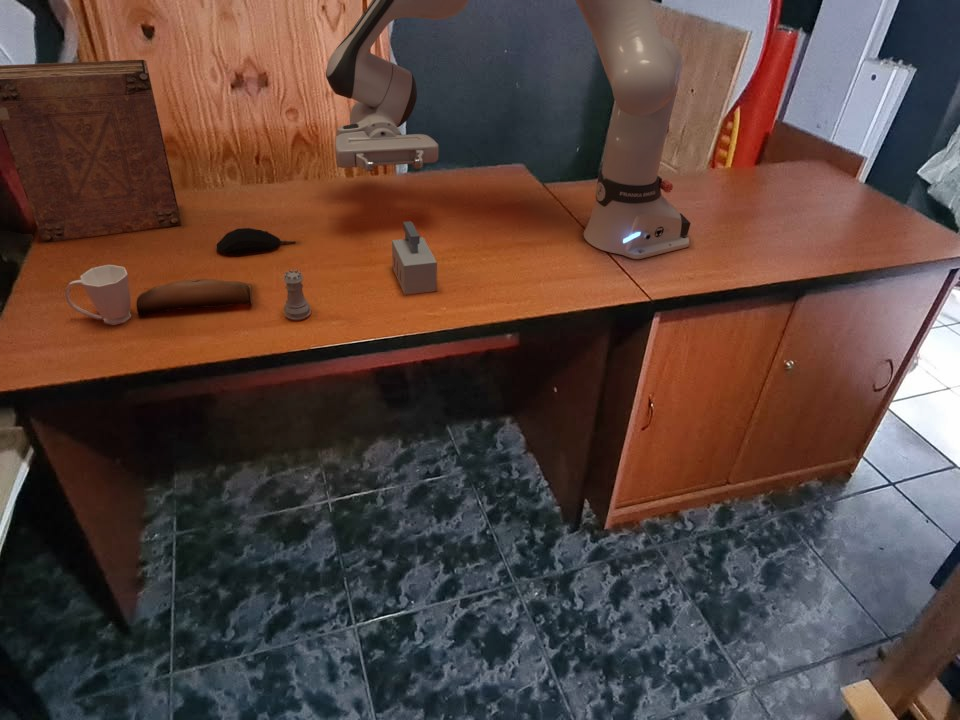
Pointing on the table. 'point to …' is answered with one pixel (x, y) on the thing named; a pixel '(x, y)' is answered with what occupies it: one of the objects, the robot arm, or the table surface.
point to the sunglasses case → (194, 295)
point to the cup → (105, 293)
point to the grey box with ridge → (414, 262)
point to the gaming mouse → (248, 242)
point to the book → (88, 147)
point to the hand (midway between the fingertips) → (394, 166)
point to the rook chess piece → (295, 297)
